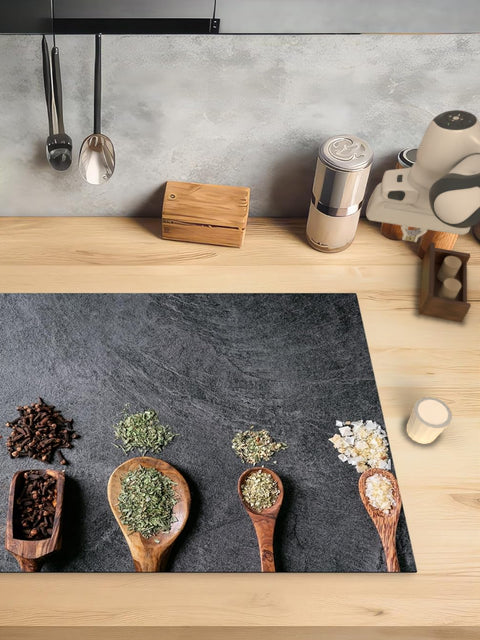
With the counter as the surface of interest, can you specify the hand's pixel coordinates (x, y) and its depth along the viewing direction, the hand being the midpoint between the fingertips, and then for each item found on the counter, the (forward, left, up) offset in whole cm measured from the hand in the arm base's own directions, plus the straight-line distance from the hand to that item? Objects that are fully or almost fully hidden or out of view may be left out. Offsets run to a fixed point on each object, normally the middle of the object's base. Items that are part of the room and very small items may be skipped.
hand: (409, 239), depth 154 cm
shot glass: (-26, +29, -14) cm, 41 cm away
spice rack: (-9, -5, -13) cm, 17 cm away
